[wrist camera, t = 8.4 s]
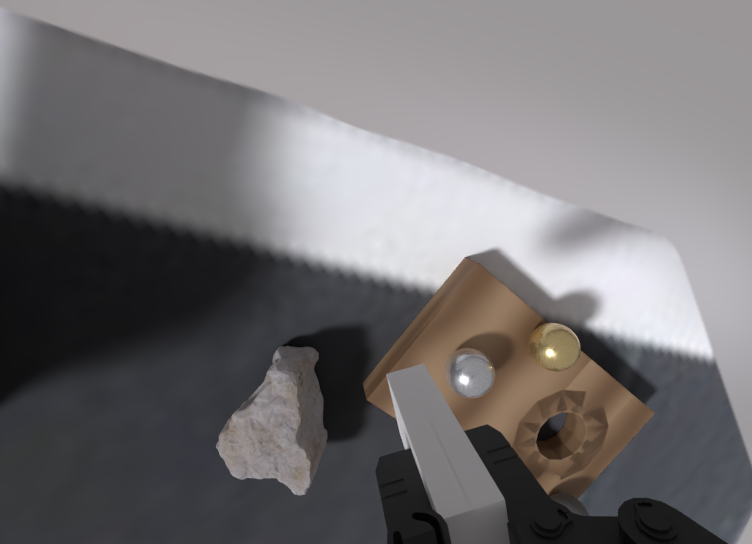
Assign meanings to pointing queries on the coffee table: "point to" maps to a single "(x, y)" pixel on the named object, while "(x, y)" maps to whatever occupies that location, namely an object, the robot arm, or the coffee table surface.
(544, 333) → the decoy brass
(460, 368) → the ball
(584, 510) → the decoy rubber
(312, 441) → the stone
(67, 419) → the coffee table surface
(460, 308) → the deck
